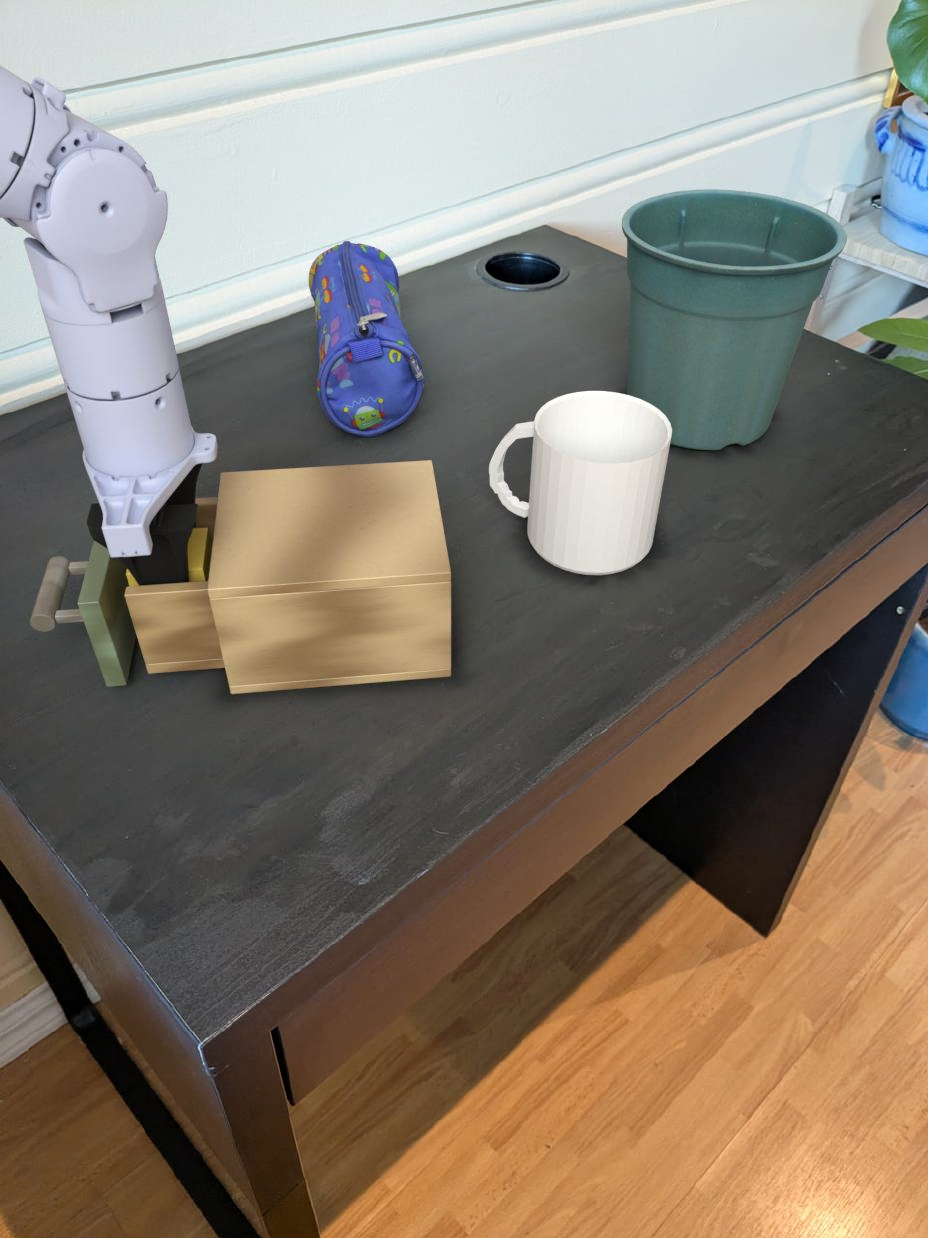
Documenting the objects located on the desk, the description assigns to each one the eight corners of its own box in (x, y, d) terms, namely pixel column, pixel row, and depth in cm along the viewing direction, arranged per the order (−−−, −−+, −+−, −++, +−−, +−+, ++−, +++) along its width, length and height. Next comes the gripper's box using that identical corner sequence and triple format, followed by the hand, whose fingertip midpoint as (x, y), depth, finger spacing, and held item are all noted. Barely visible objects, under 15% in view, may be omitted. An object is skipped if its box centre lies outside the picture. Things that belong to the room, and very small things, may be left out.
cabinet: (230, 694, 58) (206, 589, 52) (240, 574, 66) (220, 471, 61) (451, 677, 59) (451, 572, 54) (433, 560, 68) (431, 459, 62)
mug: (670, 523, 71) (691, 412, 65) (623, 593, 65) (641, 478, 59) (525, 477, 75) (531, 368, 69) (468, 538, 69) (470, 426, 63)
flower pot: (562, 395, 85) (579, 207, 74) (707, 352, 91) (741, 174, 80) (681, 489, 74) (721, 287, 63) (835, 434, 80) (896, 241, 69)
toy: (138, 617, 58) (118, 552, 54) (146, 574, 61) (128, 510, 57) (212, 611, 58) (197, 546, 55) (217, 569, 61) (203, 505, 58)
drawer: (38, 692, 57) (2, 608, 52) (69, 581, 64) (40, 499, 60) (316, 671, 58) (304, 587, 54) (314, 564, 66) (304, 483, 61)
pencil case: (428, 441, 79) (426, 332, 72) (322, 449, 78) (311, 339, 71) (399, 322, 95) (396, 223, 88) (312, 327, 94) (301, 228, 87)
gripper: (188, 444, 44) (233, 653, 54) (211, 307, 55) (245, 502, 64) (30, 453, 44) (103, 663, 53) (84, 313, 54) (137, 508, 64)
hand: (173, 575), depth 59 cm, fingers closed on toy, 4 cm apart
